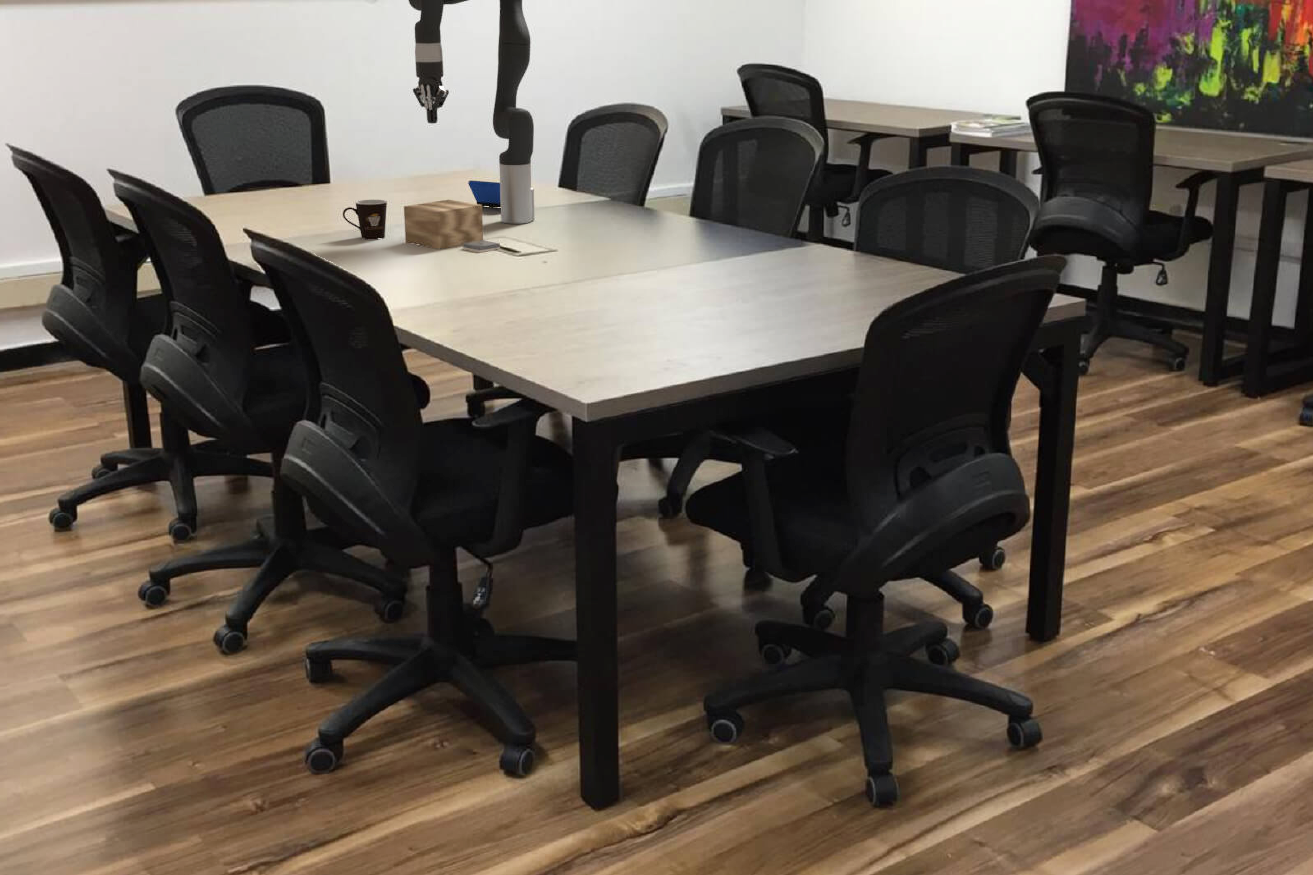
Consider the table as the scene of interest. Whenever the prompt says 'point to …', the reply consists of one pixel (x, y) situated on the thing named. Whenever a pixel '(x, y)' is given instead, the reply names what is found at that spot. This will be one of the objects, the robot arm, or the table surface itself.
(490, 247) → the coaster
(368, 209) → the coffee mug
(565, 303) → the table surface
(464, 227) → the oak block
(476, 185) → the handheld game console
